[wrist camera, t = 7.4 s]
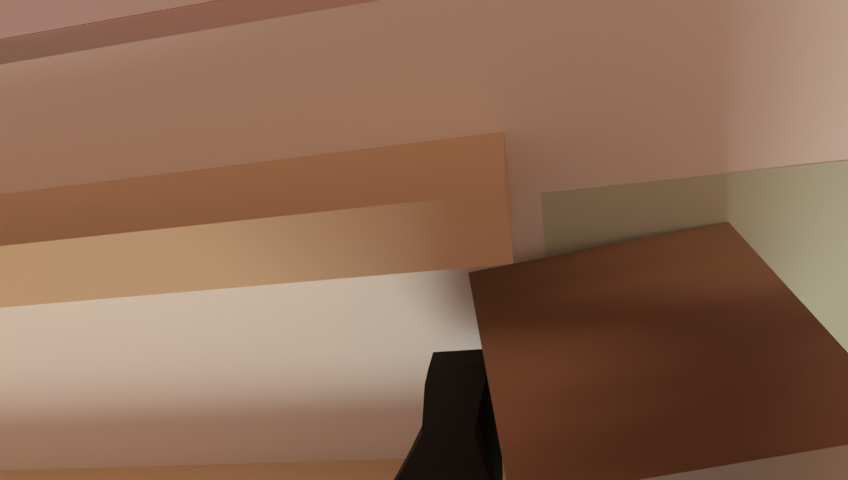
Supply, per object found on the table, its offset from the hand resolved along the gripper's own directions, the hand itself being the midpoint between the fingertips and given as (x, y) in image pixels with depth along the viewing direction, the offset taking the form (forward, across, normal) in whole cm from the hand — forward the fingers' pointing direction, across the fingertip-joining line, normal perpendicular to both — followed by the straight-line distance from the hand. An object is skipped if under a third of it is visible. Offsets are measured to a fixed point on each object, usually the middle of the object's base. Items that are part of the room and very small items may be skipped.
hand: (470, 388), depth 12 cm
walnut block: (+1, -2, 0) cm, 3 cm away
